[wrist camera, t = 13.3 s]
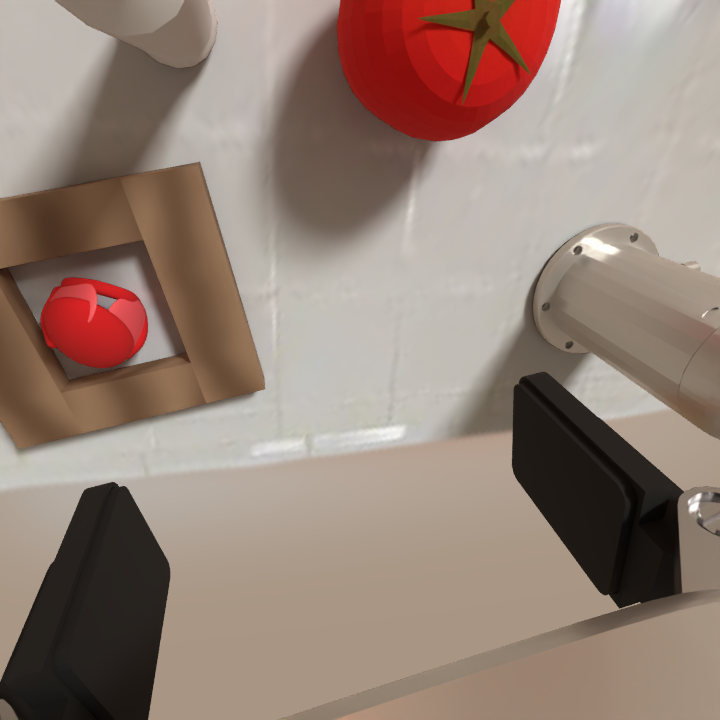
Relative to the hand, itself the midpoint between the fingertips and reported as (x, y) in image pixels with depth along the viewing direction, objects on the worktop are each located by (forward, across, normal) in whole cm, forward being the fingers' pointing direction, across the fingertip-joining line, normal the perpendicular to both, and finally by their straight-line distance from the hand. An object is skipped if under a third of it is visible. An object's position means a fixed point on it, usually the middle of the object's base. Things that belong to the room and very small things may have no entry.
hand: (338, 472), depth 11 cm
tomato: (+28, -12, -10) cm, 32 cm away
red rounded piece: (+29, +14, +4) cm, 32 cm away
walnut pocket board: (+28, +14, +4) cm, 32 cm away
